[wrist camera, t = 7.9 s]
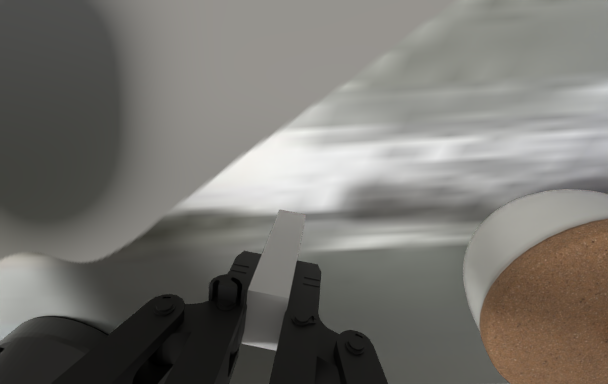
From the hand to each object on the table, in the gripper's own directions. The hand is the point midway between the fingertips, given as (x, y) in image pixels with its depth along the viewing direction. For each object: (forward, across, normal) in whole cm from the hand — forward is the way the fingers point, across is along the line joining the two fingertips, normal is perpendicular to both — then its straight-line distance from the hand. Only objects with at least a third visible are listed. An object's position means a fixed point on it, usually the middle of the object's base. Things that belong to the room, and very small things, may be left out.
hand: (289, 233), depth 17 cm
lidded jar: (+5, +16, 0) cm, 16 cm away
